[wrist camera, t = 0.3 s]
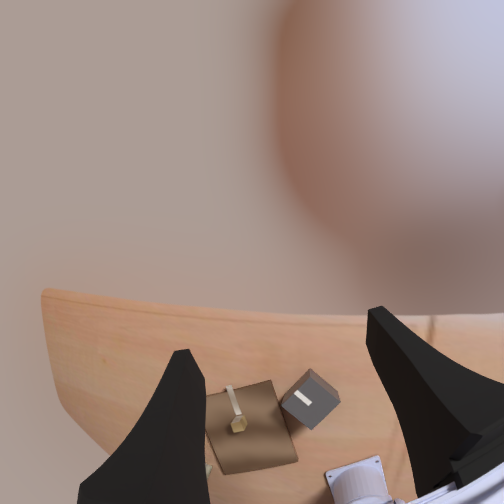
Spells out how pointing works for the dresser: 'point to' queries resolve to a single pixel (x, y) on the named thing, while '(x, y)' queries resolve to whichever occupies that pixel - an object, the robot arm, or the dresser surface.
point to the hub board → (248, 429)
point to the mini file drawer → (310, 399)
